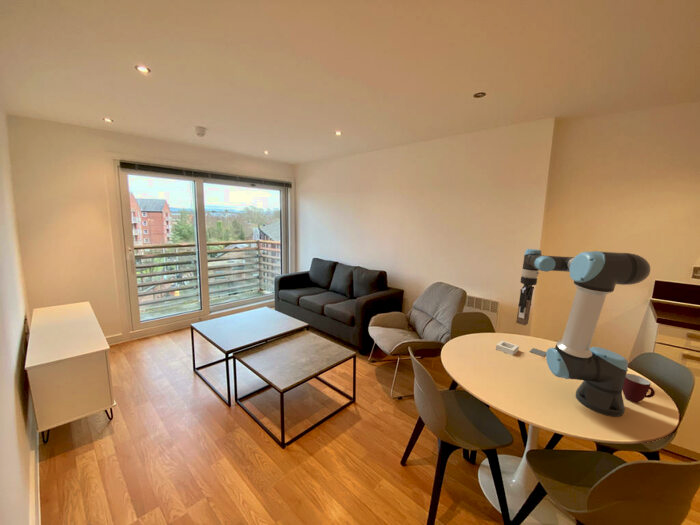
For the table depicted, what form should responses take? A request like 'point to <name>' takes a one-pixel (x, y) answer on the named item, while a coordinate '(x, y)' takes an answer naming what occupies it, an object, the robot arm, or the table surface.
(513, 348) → the socket block
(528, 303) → the peg
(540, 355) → the mat
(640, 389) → the mug
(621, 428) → the table surface
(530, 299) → the robot arm
